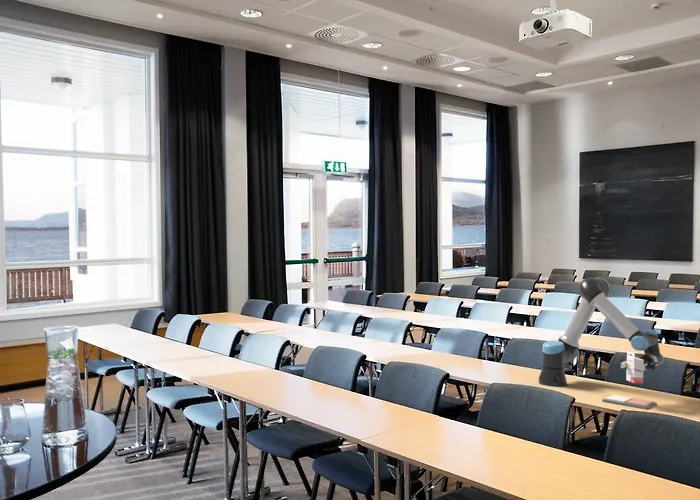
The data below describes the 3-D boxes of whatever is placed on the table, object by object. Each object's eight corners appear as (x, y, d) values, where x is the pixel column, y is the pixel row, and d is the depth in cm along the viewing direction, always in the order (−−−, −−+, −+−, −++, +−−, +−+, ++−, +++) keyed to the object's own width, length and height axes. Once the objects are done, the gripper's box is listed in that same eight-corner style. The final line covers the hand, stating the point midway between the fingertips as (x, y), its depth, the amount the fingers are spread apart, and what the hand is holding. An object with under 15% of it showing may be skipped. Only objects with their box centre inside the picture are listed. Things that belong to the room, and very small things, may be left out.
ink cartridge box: (643, 383, 302) (644, 353, 302) (633, 383, 302) (634, 353, 302) (635, 380, 310) (636, 350, 311) (625, 380, 310) (626, 350, 311)
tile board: (602, 401, 309) (602, 398, 309) (613, 397, 320) (613, 393, 320) (646, 409, 295) (646, 406, 295) (656, 404, 306) (656, 401, 306)
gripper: (669, 372, 312) (655, 377, 296) (625, 366, 327) (609, 371, 310) (669, 357, 312) (655, 361, 296) (625, 351, 327) (609, 356, 310)
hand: (631, 366), depth 303 cm, fingers closed on ink cartridge box, 9 cm apart
